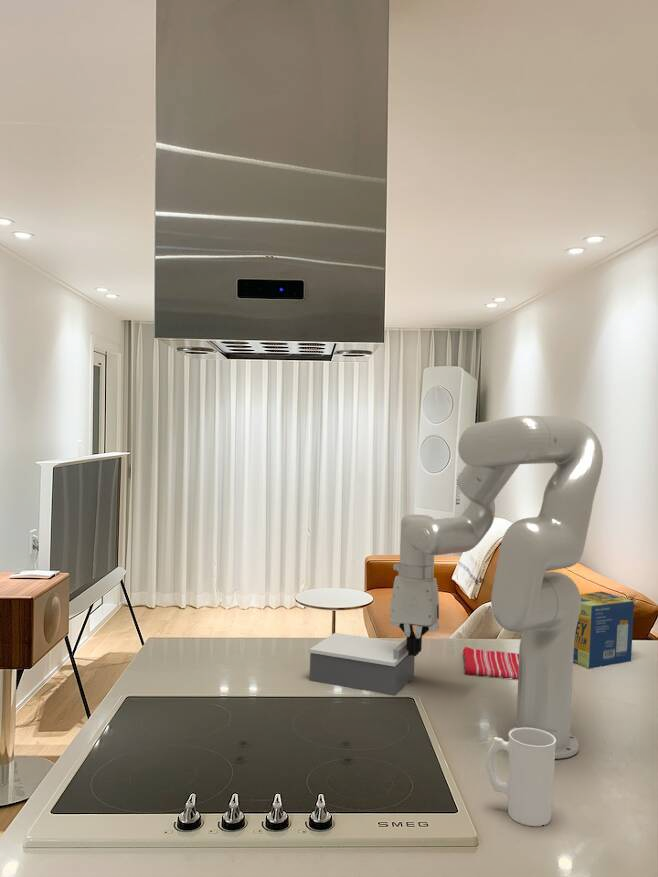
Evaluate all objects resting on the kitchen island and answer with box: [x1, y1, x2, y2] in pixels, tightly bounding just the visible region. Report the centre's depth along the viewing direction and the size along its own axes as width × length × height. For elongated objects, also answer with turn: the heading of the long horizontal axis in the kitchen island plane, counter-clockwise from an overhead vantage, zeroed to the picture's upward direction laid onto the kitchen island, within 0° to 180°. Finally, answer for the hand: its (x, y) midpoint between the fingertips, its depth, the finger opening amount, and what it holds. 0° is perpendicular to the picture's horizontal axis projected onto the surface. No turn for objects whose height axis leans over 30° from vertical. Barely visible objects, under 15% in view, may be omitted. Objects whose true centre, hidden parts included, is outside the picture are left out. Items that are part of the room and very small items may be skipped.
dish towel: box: [462, 646, 519, 680], centre depth 182 cm, size 17×24×3 cm
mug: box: [485, 728, 556, 827], centre depth 114 cm, size 10×7×12 cm, turn 68°
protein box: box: [573, 591, 635, 669], centre depth 191 cm, size 10×15×16 cm
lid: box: [309, 632, 408, 667], centre depth 172 cm, size 15×20×3 cm
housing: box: [309, 653, 416, 696], centre depth 172 cm, size 14×20×6 cm
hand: (413, 654), depth 167 cm, fingers closed
